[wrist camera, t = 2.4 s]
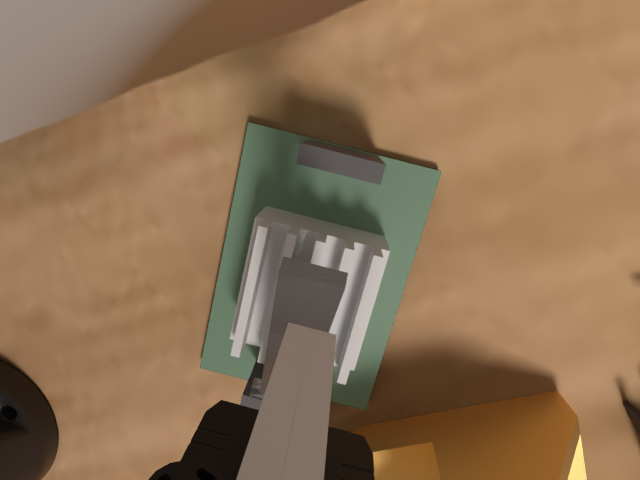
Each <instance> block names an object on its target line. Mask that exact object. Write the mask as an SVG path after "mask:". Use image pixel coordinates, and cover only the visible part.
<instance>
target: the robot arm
mask: <svg viewBox="0 0 640 480" xmlns="http://www.w3.org/2000/svg"><path fill="white" fill-rule="evenodd" d="M335 344H336V335H335V334H332V333H328V332H324V331H320V330H316V329H312V328H308V327H305V326H301V325H297V324H293V323H289V322H288V325H287V328H286V331H285V334H284V337H283V340H282V343H281V346H280V349H279V352H278V355H277V358H276V361H275V364H274V367H273V370H272V373H271V376H270V379H269V382H268V385H267V388H266V391H265V394H264V397H263V400H262V403H261V406H260V409H259V410H257V409H253V408H249V407H246V406H242V405H238V404H234V403H230V402H227V401H223V400H221V401H220V402H218V403H217V404H215V405H214V406H213V407H211V408H210V409H209V410H207V411H206V412H205V414H204V416H203V418H202V420H201V422H200V424H199V426H198V429H197V430H196V432H195V434H194V436H193V438H192V440H191V442H190V444H189V445H188V447H187V449H186V451H185V453H184V455H183V457H182V459H181V461H179V462H173V463H170V464H168V465H166V466H164V467H162V468H160V469H159V470H157V471H156V472H155V473H154V474H153V475H152V476H151V477H150V479H149V480H375V476H374V459H373V452H372V450H371V449H370V447H369V445H368V443H367V441H366V439H365V437H364V436H362V435H358V434H354V433H351V432H347V431H343V430H339V429H335V428H332V427H328V425H329V413H330V402H331V390H332V378H333V367H334V355H335ZM57 447H58V434H57V427H56V423H55V419H54V417H53V414H52V412H51V409H50V407H49V406H48V404H47V402H46V400H45V399H44V397H43V396H42V394H41V393H40V392H39V391H38V389H37V388H36V387H35V386H34V385H33V384H32V383H31V382H30V381H29V380H28V379H27V378H26V377H25V376H24V375H22V374H21V373H20V372H18V371H17V370H16V369H14V368H13V367H11V366H10V365H8V364H6V363H4V362H2V361H0V480H41V479H42V478H43V477H44V476H45V475H46V474H47V472H48V471H49V470H50V468H51V466H52V464H53V462H54V459H55V457H56V453H57Z"/></svg>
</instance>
